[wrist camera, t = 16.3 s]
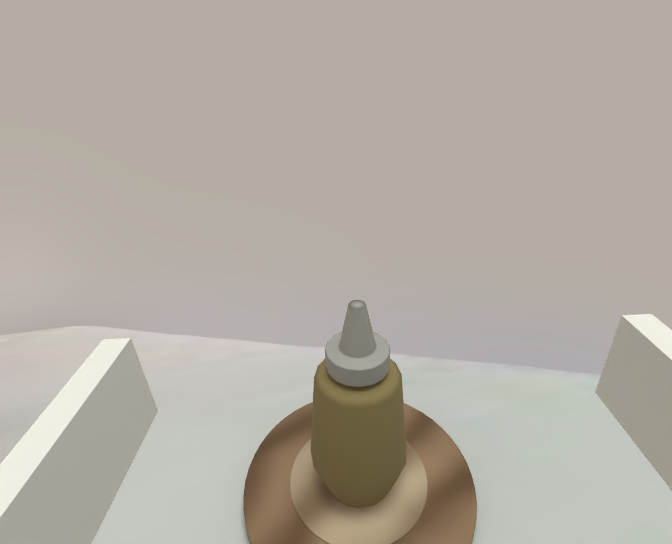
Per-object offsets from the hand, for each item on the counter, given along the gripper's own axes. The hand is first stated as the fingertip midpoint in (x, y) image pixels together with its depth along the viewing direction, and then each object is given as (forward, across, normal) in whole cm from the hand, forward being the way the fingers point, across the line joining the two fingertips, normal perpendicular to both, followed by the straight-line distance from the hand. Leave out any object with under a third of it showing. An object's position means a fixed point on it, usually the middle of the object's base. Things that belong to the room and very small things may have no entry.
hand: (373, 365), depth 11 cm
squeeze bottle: (+14, 0, -25) cm, 29 cm away
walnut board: (+14, 0, -27) cm, 30 cm away
